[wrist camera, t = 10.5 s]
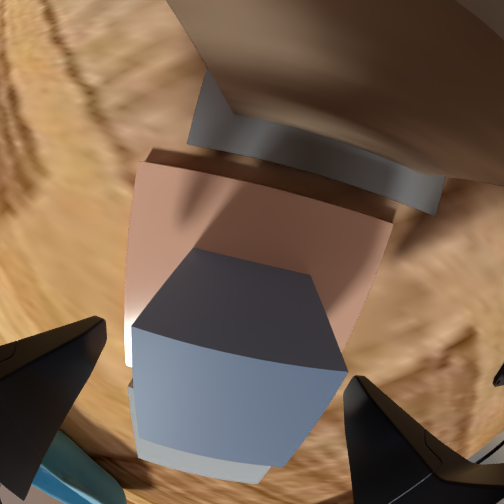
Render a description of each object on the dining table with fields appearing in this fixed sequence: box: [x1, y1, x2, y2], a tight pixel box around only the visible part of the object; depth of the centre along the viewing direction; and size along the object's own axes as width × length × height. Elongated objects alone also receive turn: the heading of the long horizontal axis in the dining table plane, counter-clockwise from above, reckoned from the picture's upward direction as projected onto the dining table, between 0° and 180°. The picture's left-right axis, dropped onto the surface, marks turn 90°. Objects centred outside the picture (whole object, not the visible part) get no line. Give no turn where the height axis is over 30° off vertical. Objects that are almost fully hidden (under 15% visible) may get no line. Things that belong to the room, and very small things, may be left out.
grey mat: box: [128, 381, 271, 484], centre depth 16 cm, size 11×11×1 cm
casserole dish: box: [31, 429, 127, 504], centre depth 19 cm, size 37×22×7 cm, turn 105°
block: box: [131, 248, 348, 467], centre depth 9 cm, size 5×5×6 cm
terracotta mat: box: [124, 161, 394, 367], centre depth 12 cm, size 11×11×1 cm
